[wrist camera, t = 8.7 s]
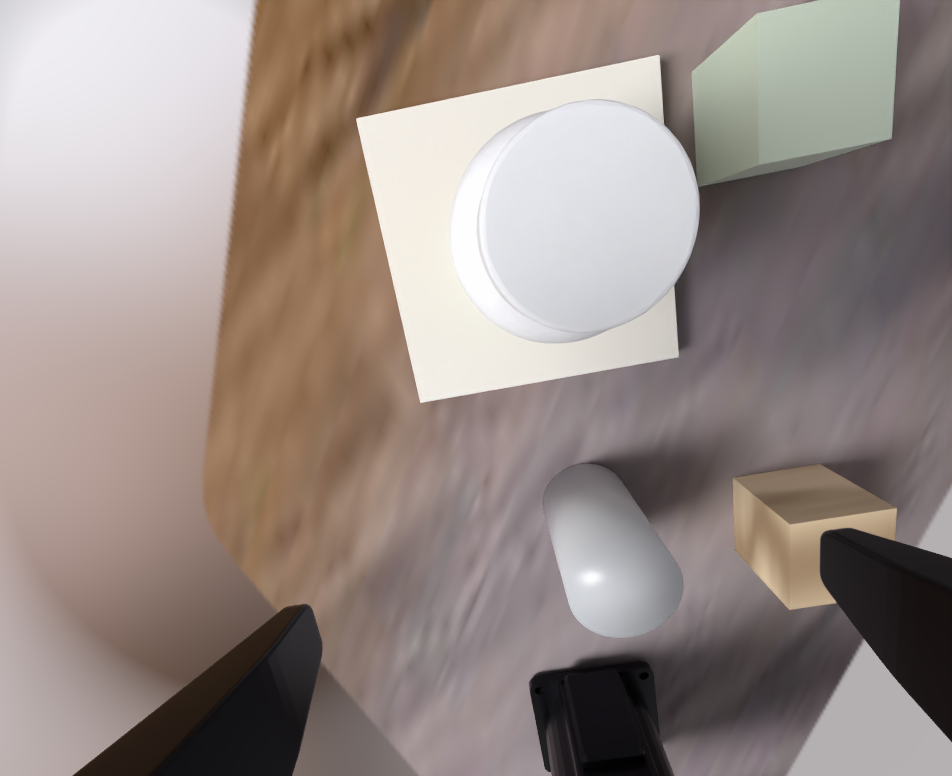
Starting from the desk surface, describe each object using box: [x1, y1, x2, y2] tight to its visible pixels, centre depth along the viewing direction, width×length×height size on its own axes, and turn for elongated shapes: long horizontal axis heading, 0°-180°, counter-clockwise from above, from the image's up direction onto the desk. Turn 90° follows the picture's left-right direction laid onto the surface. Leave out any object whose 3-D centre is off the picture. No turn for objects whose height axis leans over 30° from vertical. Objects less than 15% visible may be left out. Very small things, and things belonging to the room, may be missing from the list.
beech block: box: [733, 464, 897, 610], centre depth 19 cm, size 4×4×4 cm
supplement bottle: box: [449, 99, 700, 344], centre depth 13 cm, size 5×5×10 cm
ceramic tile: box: [356, 55, 679, 403], centre depth 18 cm, size 11×11×1 cm
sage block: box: [692, 0, 900, 187], centre depth 15 cm, size 4×4×4 cm
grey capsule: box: [543, 464, 683, 638], centre depth 18 cm, size 4×4×6 cm
